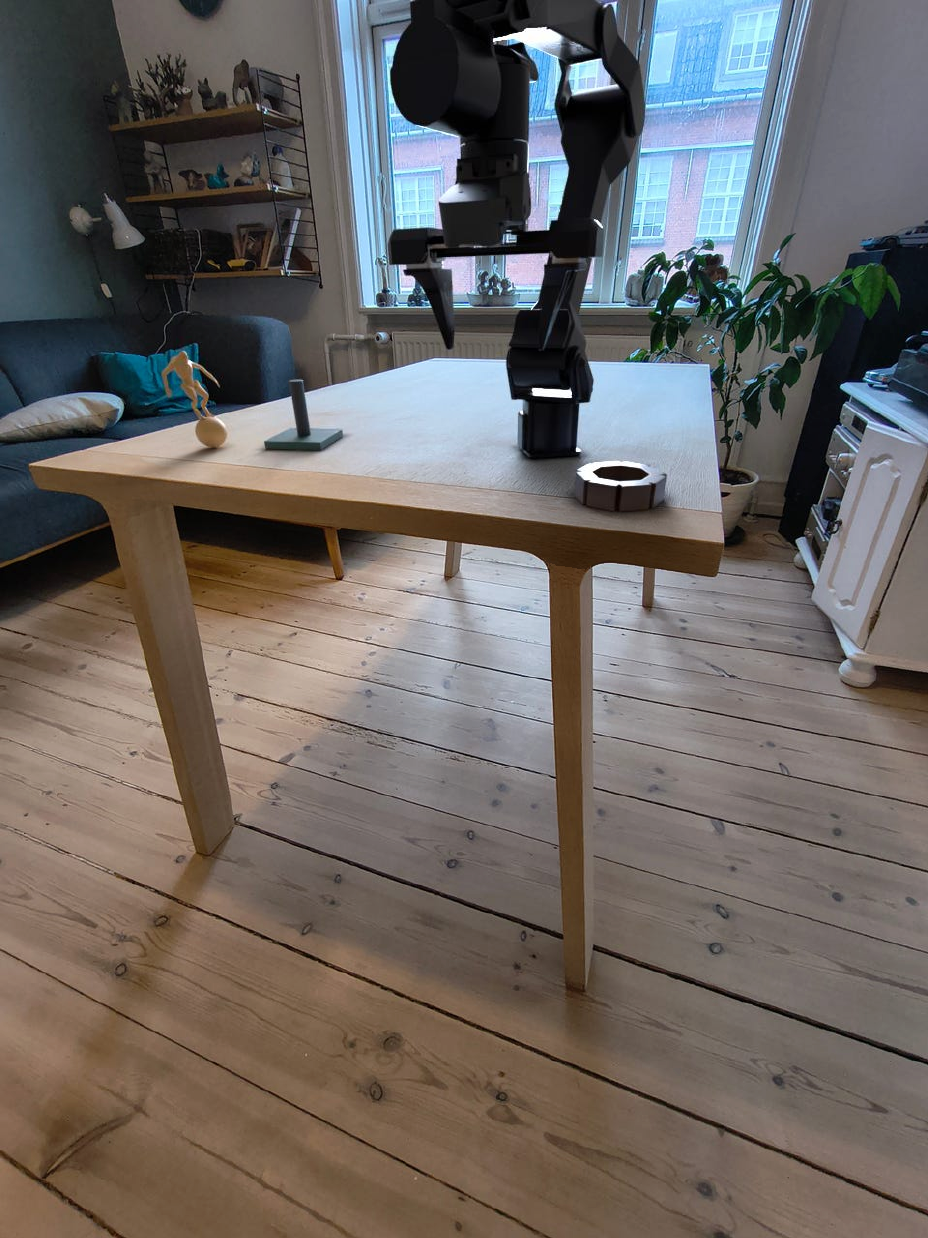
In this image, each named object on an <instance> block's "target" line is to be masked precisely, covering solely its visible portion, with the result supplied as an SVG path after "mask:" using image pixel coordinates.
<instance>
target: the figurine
mask: <svg viewBox="0 0 928 1238" xmlns="http://www.w3.org/2000/svg"><path fill="white" fill-rule="evenodd" d="M194 368H195V369H197V370H200V371H201V372H202V373H203V374H205V376H206V377H208V378H209V379H210V380H212V381H213V382H214V383H215V384H216V385H217V387H218V388H221V386H220V384H219V382H218V380H217V379H216V378H215V377H214V376H213V375H212V374H211V373H210V372H209V371H207V370H206V369H205V368H204V367H203V366H202V365H200V364H199V363H197V362H193V361H191V360H190V359H189V356H188V354H187V352H186V351H185V350H181V351H180V352H179V353H178V354H176V355H174V356H172V357H171V359H170V362H169V363H168V364H167V366H166V367H165V368H164V369H163V370H162V371H161V378H162V381H163V385H164V391H165V393H166V396H167V397H173V390H172V389H170V388H169V382H168V377H167V375H168V374H170V373H171V372H172V371H174V372H175V373H176V375H177V376H178V377H179V379H181V384H180V388H181V390H182V391H184V393H185V394H186V396H187V397H188V398H190V399H191V400H192V401H191V402H190V406H191V408H192V410H193V412H194V413H195V415H196V416H197V417H198V422H196V425H195V427H194V428H195V429H194V430H195V431H194V432H195V436H196V438H197V440H198V441H199V442H200V443H201V444H202V445H203V446H205V447H208V448H218V447H221V446H222V445H224V444H225V442H226V440H227V439H228V429H227V426H226V425H225V423H224V422H223V421H222V420H220V419H219V418H218V417H215V415H214V414H212V413H210V412H209V410H208V409H207V407H206V405H207V404H208V400H209V392H207V391H206V390H205V389H204V388H203V387H202V385H201V383H200V382H199V380H198V379H195V380H194V377H193V376H194V374H193V371H194ZM198 395H199V396H201V397H202V398H203V399H201V401H200V405H201V409H202V411H203V413H204V414H205V415H206V416H204V415H202V413H201V412H200V411H199V409H198V408H197V406H198Z"/></svg>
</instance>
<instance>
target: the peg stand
mask: <svg viewBox="0 0 928 1238" xmlns="http://www.w3.org/2000/svg"><path fill="white" fill-rule="evenodd" d="M288 385H289V391H290V399H291V404H292V410H293V415H294V422H295V427H290V428H288V429H285V430H283V431H282V432H280V433H278V434H276V435H274V436H271V437H270V438H268V439H266V440H264V441H263V445H264V448H265V450H266V449H267V450H300V451H302V450H303V451H304V450H305V451H322V450H324V449H325V448H327V447H328V446H329V445H331V444H332V443H334V442H336V441H338V440H339V439H341V438H342V437H344V430H343V428H314V427H313V428H312V427H311V425H310V418H309V413H308V412H309V411H308V406H307V405H308V404H307V400H306V399H307V398H306V392H305V386H304V380H303V379H290V380H288Z"/></svg>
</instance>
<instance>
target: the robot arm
mask: <svg viewBox="0 0 928 1238" xmlns="http://www.w3.org/2000/svg"><path fill="white" fill-rule="evenodd" d="M409 10H410V23H409V24H408V25H407V27H406V28H405V29H404V30H403V31H402V33H401V35H400V37H399V39H398V41H397V43H396V46H395V50H394V53H393V57H392V65H391V67H390V69H389V83H390V89H391V94H392V98H393V101H394V104H395V106H396V109H398V111H399V113H400V115H401V116H402V117H403V118H404V119H405V120H406V121H407V122H409V123H410V124H412V125H414V126H417V127H421V128H424V129H427V130H431V131H434V132H438V133H442V134H445V135H448V136H451V137H456V138H459V141H460V142H459V144H460V145H459V146H460V150H459V151H460V158H456V165H455V166H456V167H455V183H454V185H452V186H450V187H449V188H448V189H447V190H446V191H445V193H444V194H443V195H442V196H441V197H440V198H439V199H438V208H439V217H440V223H441V228H435V227H430V226H429V227H411V228H394V229H392V232H391V234H390V236H389V238H388V242H387V254H388V265H389V266H405V269H402V272H403V274H404V276H405V277H413V279H414V280H415V281H416V282H417V283H418V285H419V286H420V287H421V289H422V291H423V292H424V295H425V297H426V299H427V300H428V303H429V305H430V308H431V310H432V312H433V315H434V318H435V322H436V324H437V326H438V329H439V332H440V334H441V335H440V336H441V338H442V341H443V344H444V346H445V349H446V351H452V350H454V347H455V333H456V331H455V329H456V327H455V310H454V285H453V281H454V280H453V268H451V267H450V268H447V267H444V262H445V260H446V259H449V258H450V259H451V258H472V257H473V258H474V257H475V258H476V257H494V256H496V257H497V256H519V255H520V256H521V255H541V254H542V255H543V254H548V256H547V260H546V264H543V277H542V281H541V285H540V291H539V294H538V298H537V301H536V303H535V304H534V305H533V306H532V307H531V308H527V309H526V308H521V309H519V311H518V312H517V314H516V316H515V321H514V326H513V332H512V336H511V338H510V340H509V343H508V347H509V348H508V349H507V353H506V357H505V367H506V368H505V369H506V375H507V382H508V387H509V394H510V399H511V401H517V400H518V401H522V410H521V411H518V413H517V447H518V448H519V449H520V450H521V451H522V452H523V453H524V455H526V457H527V458H529V459H540V458H553V457H569V456H580V455H582V450H581V449H580V448H579V447H577V446H578V434H579V433H578V432H579V417H580V404H586V403H587V404H588V403H590V402H591V398H592V394H593V391H594V382H595V380H594V376H593V373H592V369H591V366H590V363H589V360H588V357H587V356H588V355H587V354H586V347H587V339H586V336H585V333H584V330H583V327H582V324H581V321H580V318H579V316H580V311H581V306H582V302H583V299H584V294H585V290H586V286H587V283H588V282H587V281H588V277H589V272H590V268H591V265H592V260H593V259H602V258H603V253H604V240H605V228H604V227H603V225H602V224H601V223H602V219H603V216H604V215H603V214H604V211H605V207H606V203H607V198H608V195H609V190H610V187H611V185H612V184H613V183H614V182H615V180H616V179H617V178H618V177H619V176H620V175H621V174H622V173H623V171H624V170H625V169H626V168H627V166H628V165H629V164H630V163H631V161H632V158H633V155H634V153H635V148H636V145H637V143H638V139H639V137H640V136H642V133H643V131H644V127H645V120H646V101H645V92H644V84H643V78H642V71H641V64H640V62H639V61H638V59H637V58H636V56H635V55H634V54H633V52H632V51H631V50H630V48H629V46H628V45H627V44H626V43H625V41H624V40H623V39H622V37H621V36H620V34H619V30H618V24H617V16H616V13H615V9H614V6H613V5H612V3H608V4H607V3H606V2H605V1H602V0H601V1H598V0H410V2H409ZM511 39H513V40H516V41H518V42H515V43H511V44H506V45H504V44H499V43H495V41H496V42H497V41H502V40H511ZM526 45H527V46H529V47H532V48H534V49H536V50H538V51H540V52H543V53H545V54H548V55H550V56H552V57H554V58H557V62H558V65H559V69H560V77H559V82H558V87H557V91H556V95H555V98H554V105H553V106H554V111H555V115H556V118H557V123H558V125H559V129H560V133H561V135H560V136H561V137H560V145H561V149H562V151H563V154H564V158H565V160H566V164H567V167H568V170H567V176H566V180H565V184H564V187H563V188H564V189H563V191H562V192H563V193H562V197H561V201H560V206H559V210H558V214H557V219H551V220H550V223H549V229H539V230H529V218H530V216H531V213H532V192H531V185H530V183H531V182H530V166H531V165H530V163H529V147H530V146H529V144H530V143H529V138H530V137H529V136H530V93H531V92H530V91H531V90H530V89H531V83H535V82H538V80H539V70H538V68H537V65H536V62H535V61H534V60H533V59H532V58H531V56H530V55H529V53H528V51H527V49H526ZM599 60H601V63H602V67H603V69H604V71H606V73H607V74H608V75H609V76H610V78H611V79H612V80H613V82H614V83H615V84H610V85H604V86H599V87H593V88H587V89H583V90H578V91H576V92H574V93H573V91H572V86H571V82H570V75H571V70H572V66H574V65H575V66H576V65H580V64H584V63H589V62H595V61H599ZM504 235H510V236H512V237H513V236H514V237H515V241H507V242H504V241H503V240H504Z"/></svg>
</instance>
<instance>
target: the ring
mask: <svg viewBox="0 0 928 1238" xmlns="http://www.w3.org/2000/svg"><path fill="white" fill-rule="evenodd" d="M667 479H668V475H667V473H666V472H664V471H662V470H661V469H659V468H658V467H656V466H651V465H650V464H645V463H638V462H633V461H632V462H631V461H622V462H621V461H619V460H614V461H613V460H612V461H600V462H593V463H587V464H585V465H584V466H581V467H580V468H577V469H575V473H574V486H573V487H574V488H573V496H574V498H576V500H577V501H579V502H580V504H581V505H586V507H589V508H595V509H600V510H604V511H610V512H615V511H616V510H617V511H618V512H620V513H623V512H634V511H646V510H649V509H654V508H656V506H658V505H659V504H660V503H662V502H663V501H664V500H665V499H664V498H665V492H666V486H667Z"/></svg>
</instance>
